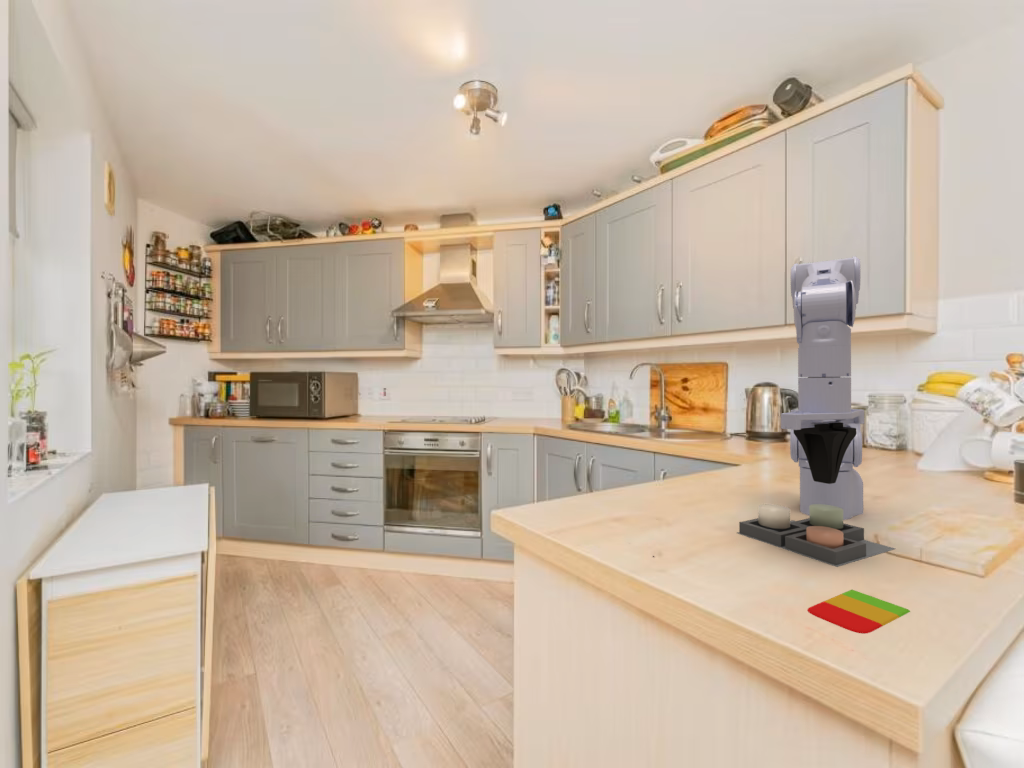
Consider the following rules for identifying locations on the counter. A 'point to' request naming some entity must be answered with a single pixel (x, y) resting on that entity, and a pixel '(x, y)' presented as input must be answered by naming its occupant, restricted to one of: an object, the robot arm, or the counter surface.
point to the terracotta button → (825, 536)
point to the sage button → (826, 516)
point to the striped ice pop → (857, 611)
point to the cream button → (774, 516)
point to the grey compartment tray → (798, 543)
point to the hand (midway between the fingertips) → (824, 482)
